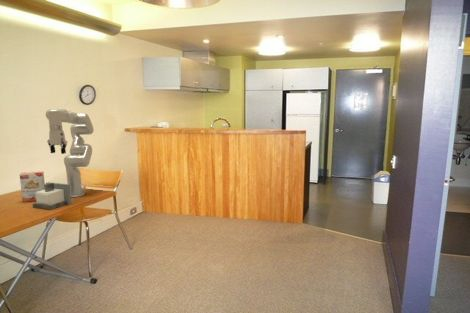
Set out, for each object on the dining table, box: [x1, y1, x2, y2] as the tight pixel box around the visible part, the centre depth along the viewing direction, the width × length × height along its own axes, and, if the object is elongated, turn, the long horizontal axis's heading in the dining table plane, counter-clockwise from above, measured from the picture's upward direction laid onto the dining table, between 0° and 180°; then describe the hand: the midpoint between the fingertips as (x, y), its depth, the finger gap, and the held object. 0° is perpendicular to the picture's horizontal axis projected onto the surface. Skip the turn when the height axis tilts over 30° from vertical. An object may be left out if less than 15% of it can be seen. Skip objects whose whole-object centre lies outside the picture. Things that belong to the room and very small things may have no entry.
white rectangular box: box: [35, 182, 65, 205], centre depth 221 cm, size 12×13×13 cm
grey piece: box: [32, 182, 72, 211], centre depth 222 cm, size 15×20×14 cm
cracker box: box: [19, 170, 46, 203], centre depth 234 cm, size 14×6×21 cm, turn 108°
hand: (58, 153), depth 221 cm, fingers open, 9 cm apart
